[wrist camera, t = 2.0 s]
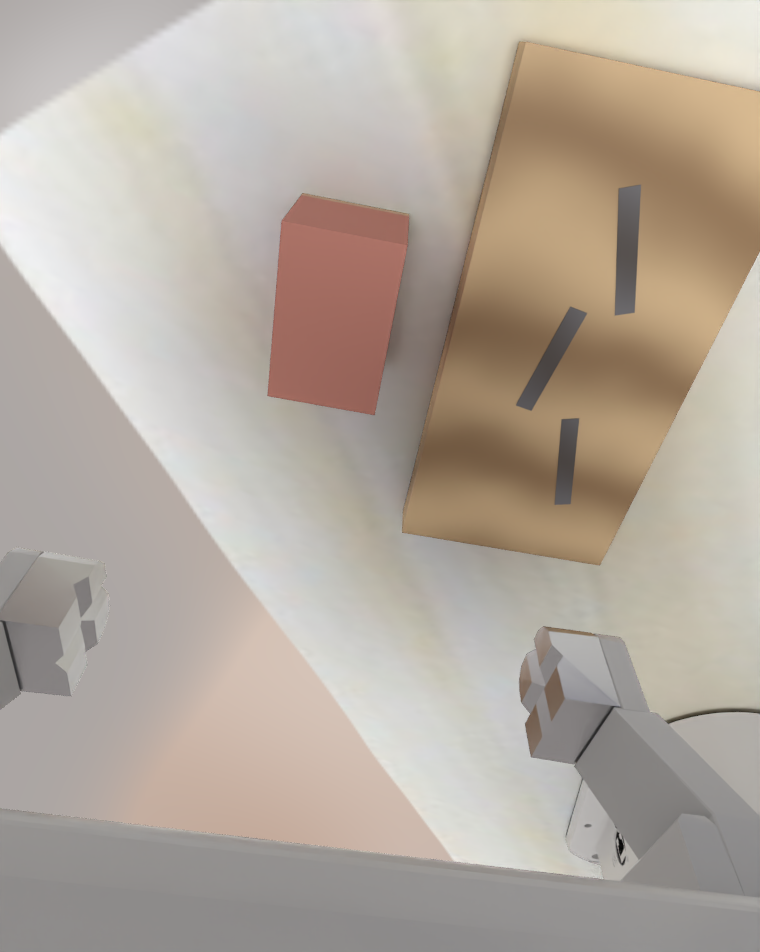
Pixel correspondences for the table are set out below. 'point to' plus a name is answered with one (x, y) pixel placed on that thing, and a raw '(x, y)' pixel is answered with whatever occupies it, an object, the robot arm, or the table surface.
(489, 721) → the table surface
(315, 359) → the block
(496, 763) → the table surface
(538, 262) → the plank
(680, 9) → the table surface
